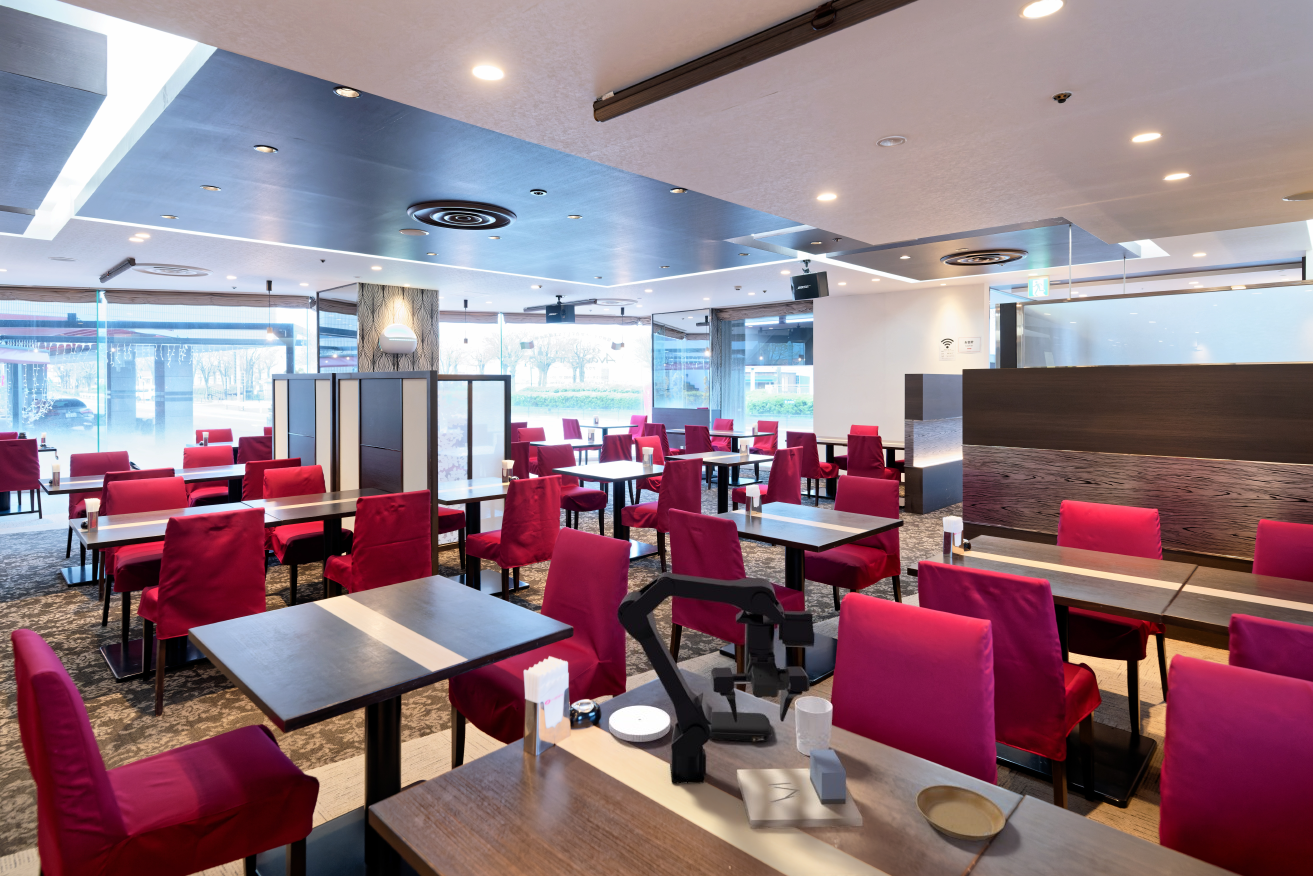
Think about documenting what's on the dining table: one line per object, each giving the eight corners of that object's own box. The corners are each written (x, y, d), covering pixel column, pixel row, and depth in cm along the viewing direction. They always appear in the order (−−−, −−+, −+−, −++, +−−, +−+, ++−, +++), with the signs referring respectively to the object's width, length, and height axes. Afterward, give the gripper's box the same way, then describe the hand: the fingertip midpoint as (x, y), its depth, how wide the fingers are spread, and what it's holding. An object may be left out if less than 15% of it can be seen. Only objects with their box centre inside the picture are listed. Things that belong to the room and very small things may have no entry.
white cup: (828, 740, 150) (829, 697, 150) (834, 760, 142) (835, 714, 142) (792, 738, 151) (793, 695, 150) (796, 758, 143) (797, 712, 143)
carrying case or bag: (705, 744, 149) (773, 747, 148) (705, 731, 149) (773, 733, 148) (705, 721, 160) (768, 723, 159) (705, 708, 160) (768, 710, 159)
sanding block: (821, 804, 125) (821, 773, 124) (809, 779, 133) (810, 749, 132) (845, 803, 125) (846, 772, 125) (832, 778, 133) (833, 749, 132)
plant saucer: (1001, 861, 112) (1001, 846, 112) (908, 831, 120) (908, 816, 120) (1008, 813, 125) (1008, 800, 125) (923, 789, 133) (923, 776, 132)
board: (750, 828, 120) (750, 820, 120) (737, 776, 136) (737, 769, 136) (862, 826, 121) (862, 818, 121) (835, 775, 137) (835, 767, 137)
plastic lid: (602, 743, 149) (602, 732, 149) (616, 713, 163) (616, 703, 163) (665, 748, 147) (665, 737, 147) (674, 718, 161) (674, 707, 161)
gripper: (717, 661, 125) (716, 743, 126) (817, 660, 126) (816, 741, 127) (710, 639, 136) (710, 714, 137) (802, 638, 137) (801, 713, 138)
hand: (758, 721), depth 134 cm, fingers open, 9 cm apart
